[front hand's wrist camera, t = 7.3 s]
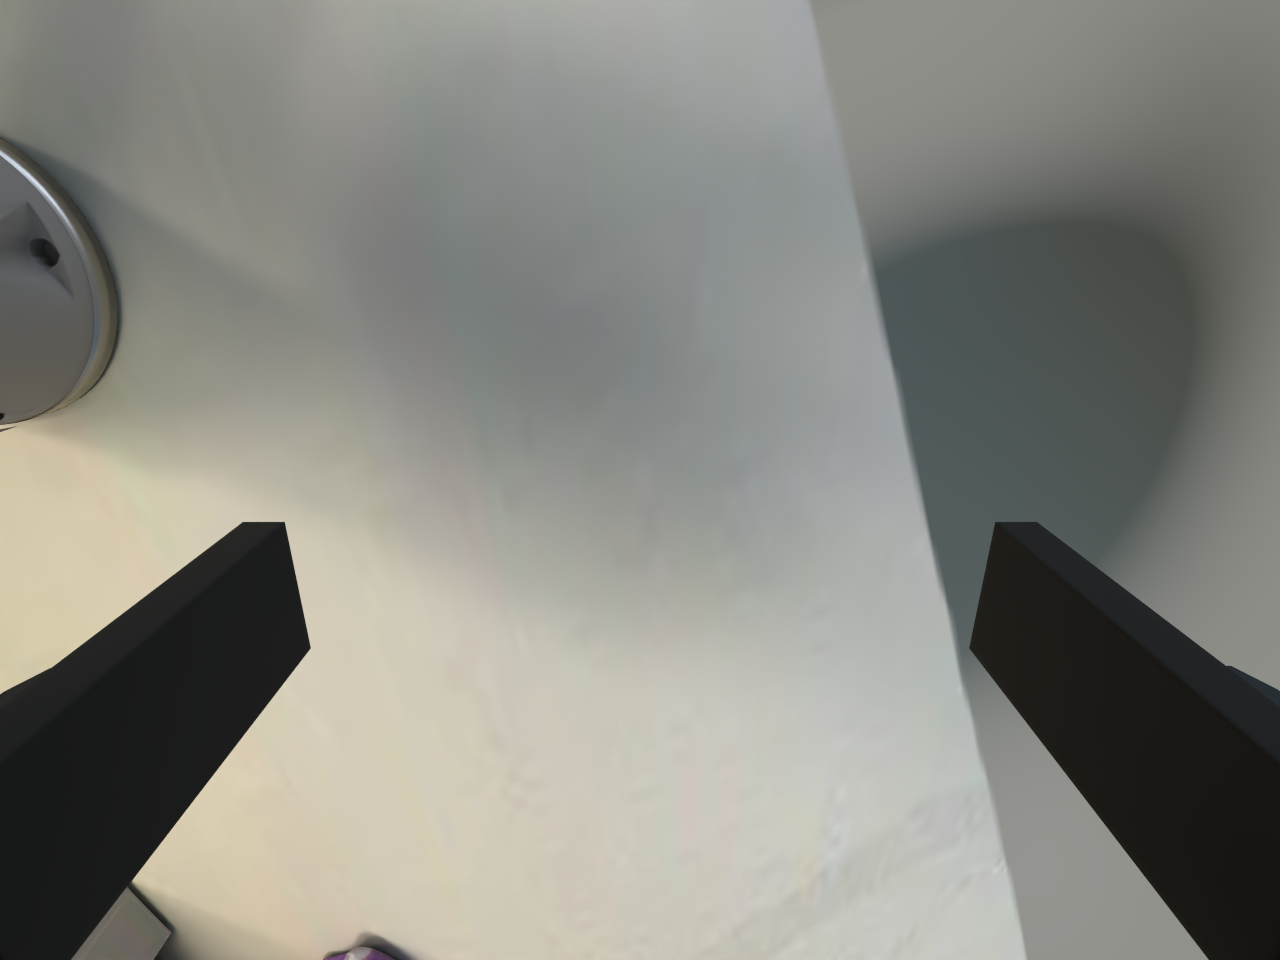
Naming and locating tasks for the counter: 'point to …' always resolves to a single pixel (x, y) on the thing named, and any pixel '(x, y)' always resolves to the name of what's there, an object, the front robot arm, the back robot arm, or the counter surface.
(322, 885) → the counter surface
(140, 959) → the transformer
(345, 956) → the figurine
